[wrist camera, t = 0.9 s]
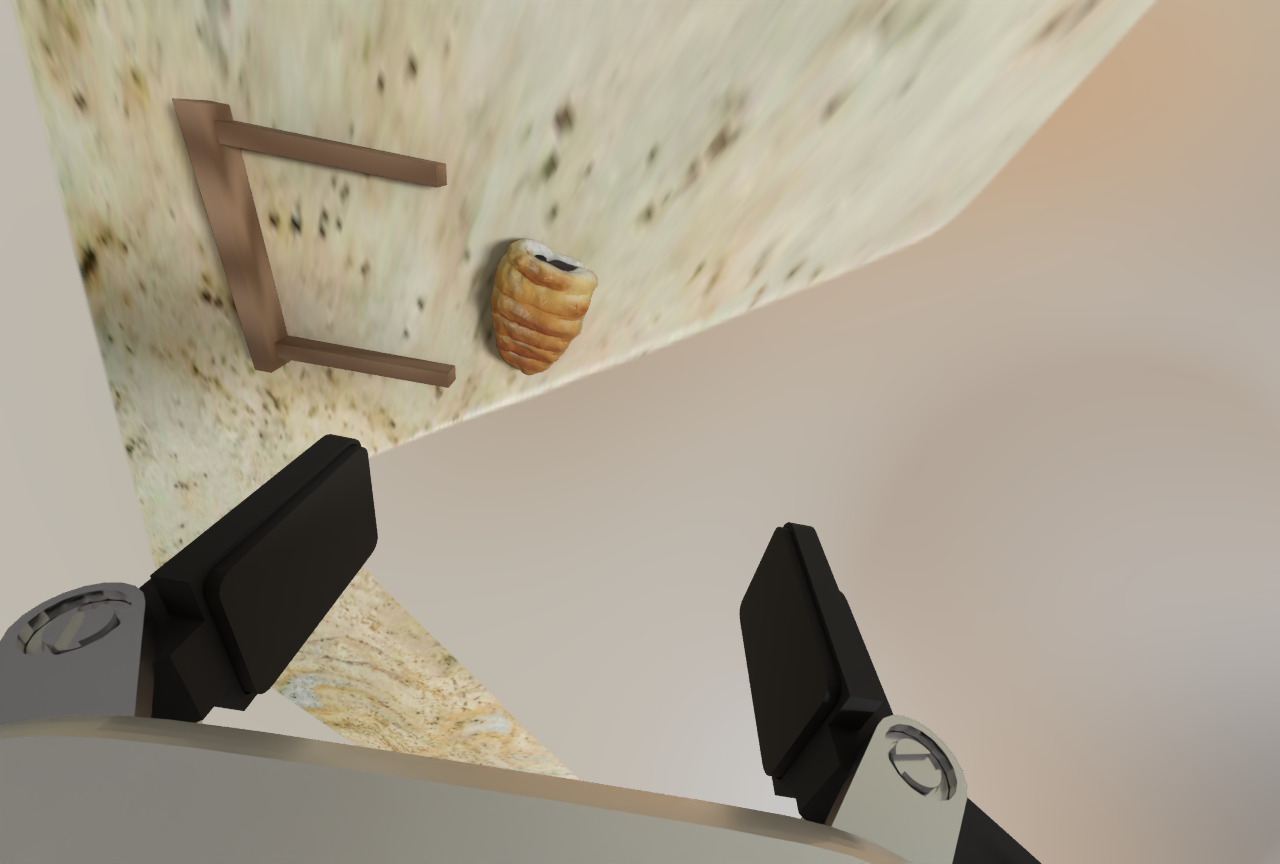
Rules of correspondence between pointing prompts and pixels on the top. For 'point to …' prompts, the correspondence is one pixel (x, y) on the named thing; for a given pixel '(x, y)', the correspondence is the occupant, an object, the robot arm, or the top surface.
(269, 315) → the bay
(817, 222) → the top surface
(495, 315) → the pastry
